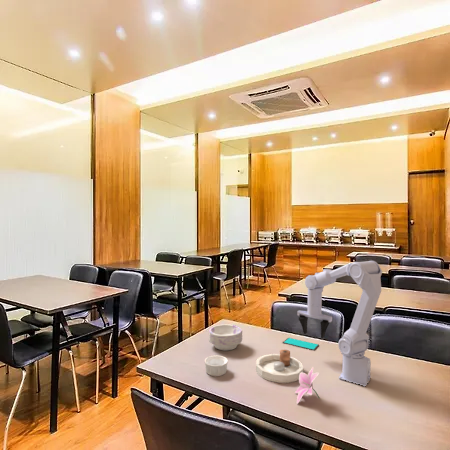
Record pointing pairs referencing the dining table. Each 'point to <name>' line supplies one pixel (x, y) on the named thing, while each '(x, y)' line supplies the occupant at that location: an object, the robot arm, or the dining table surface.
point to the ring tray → (275, 375)
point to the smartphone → (301, 344)
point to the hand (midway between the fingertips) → (313, 335)
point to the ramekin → (216, 365)
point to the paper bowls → (225, 336)
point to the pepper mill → (285, 357)
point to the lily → (306, 384)
